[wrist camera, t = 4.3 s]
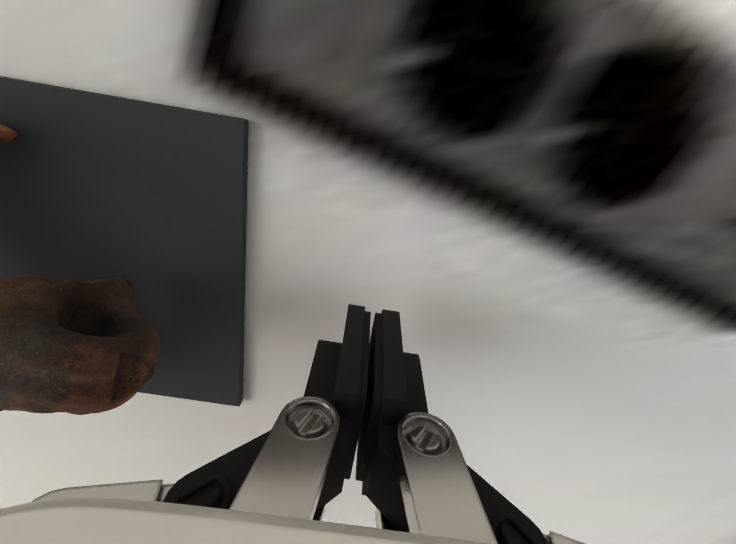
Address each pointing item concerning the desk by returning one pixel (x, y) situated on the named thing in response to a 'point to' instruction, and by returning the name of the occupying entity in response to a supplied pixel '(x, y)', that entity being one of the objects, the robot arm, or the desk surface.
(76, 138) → the desk mat
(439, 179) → the desk surface
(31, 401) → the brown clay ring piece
